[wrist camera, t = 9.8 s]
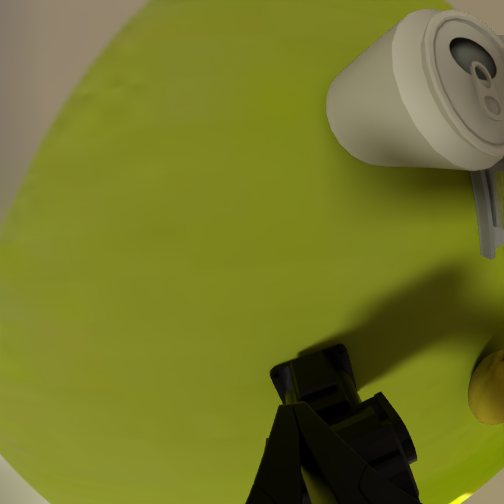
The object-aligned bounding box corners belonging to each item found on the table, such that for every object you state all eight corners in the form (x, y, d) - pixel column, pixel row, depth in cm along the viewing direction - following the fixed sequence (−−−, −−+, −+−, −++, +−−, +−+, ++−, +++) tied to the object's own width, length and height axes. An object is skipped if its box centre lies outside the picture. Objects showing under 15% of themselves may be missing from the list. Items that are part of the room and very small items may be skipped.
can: (408, 72, 18) (517, 26, 6) (418, 166, 20) (544, 178, 8) (316, 64, 18) (391, -28, 6) (327, 167, 20) (429, 169, 8)
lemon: (495, 383, 27) (527, 417, 19) (452, 411, 27) (481, 452, 20) (508, 317, 24) (552, 349, 16) (460, 347, 24) (504, 390, 17)
